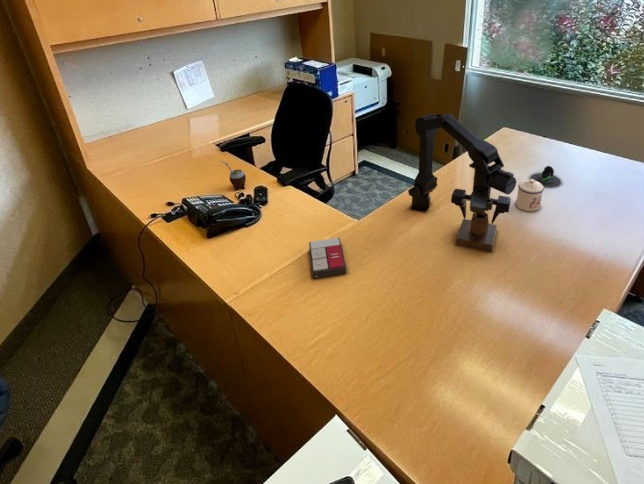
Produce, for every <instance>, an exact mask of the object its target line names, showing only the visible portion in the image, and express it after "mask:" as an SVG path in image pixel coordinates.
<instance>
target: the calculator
mask: <svg viewBox="0 0 644 484" xmlns="http://www.w3.org/2000/svg"><path fill="white" fill-rule="evenodd" d="M308 248H309V255H310V265H311V273H312V279H314V280H316V279H322V278H328V277H333V276H341V275H346V274H347V266H346V262H345V256H344V251H343V247H342V243H341V238H340V237H334V238H327V239H321V240H313V241H309V242H308ZM316 276H317V277H316Z"/></svg>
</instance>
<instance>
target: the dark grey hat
mask: <svg viewBox="0 0 644 484" xmlns="http://www.w3.org/2000/svg"><path fill="white" fill-rule="evenodd" d="M554 173H555V170H554V168H553V166H551V165H547V166H545V167H544V168H543V170H542V172H540V173H539V172H538V173H534V174H532V175H531V176H530V177H529V180H530V179H534V180H535V181H537V182H539V183H541V184H542V185H543V187H544V188H557V187H559V186H560V185H561V184H562V181H561V179H560V178H559V177H558V176H556V175H555V174H554Z"/></svg>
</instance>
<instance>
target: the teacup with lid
mask: <svg viewBox="0 0 644 484" xmlns="http://www.w3.org/2000/svg"><path fill="white" fill-rule="evenodd" d="M544 191H545V187H543V185H542V184H541V183H539V182H537V181H535V180H534V179H530V178H529V179H523V180H521V181H519V183H518V185H517V195H516V200H515V205H516V207H517V208H518V209H520V210H523V211H525V212H535V211H538V210H539V209H540V207H541V204H542V203H541V202H542V198H543V192H544Z"/></svg>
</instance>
